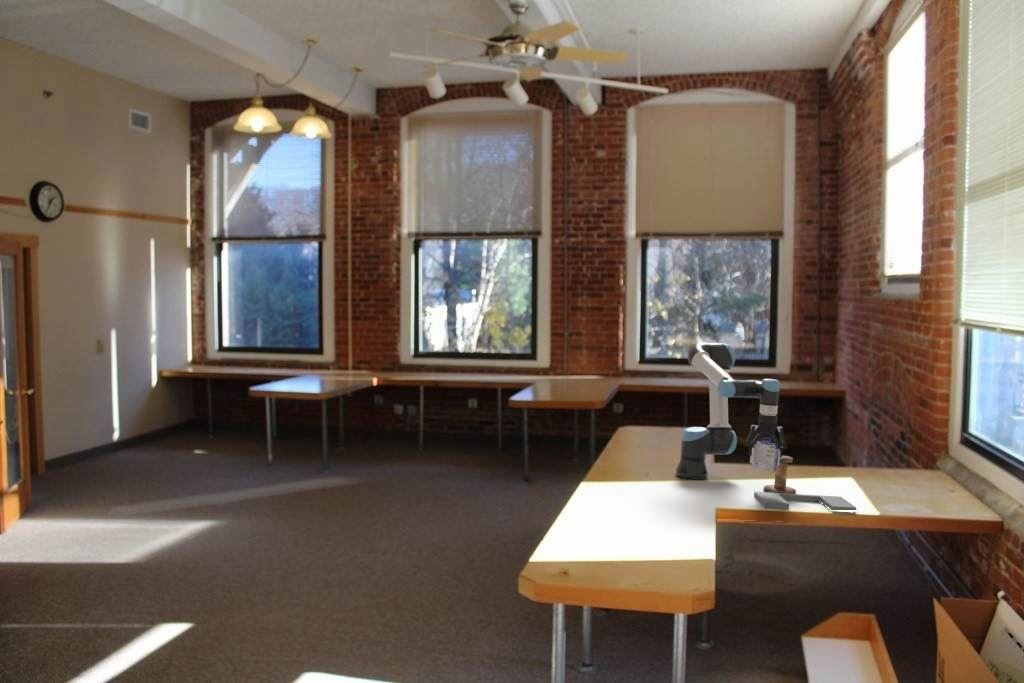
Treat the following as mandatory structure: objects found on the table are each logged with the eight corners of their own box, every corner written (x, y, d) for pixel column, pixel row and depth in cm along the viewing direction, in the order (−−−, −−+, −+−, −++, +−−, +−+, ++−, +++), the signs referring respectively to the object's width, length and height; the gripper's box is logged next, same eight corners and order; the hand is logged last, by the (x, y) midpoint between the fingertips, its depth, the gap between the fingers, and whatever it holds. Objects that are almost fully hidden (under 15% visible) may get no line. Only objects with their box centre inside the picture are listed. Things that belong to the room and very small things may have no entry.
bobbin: (768, 494, 390) (771, 459, 389) (760, 487, 404) (762, 453, 403) (799, 496, 390) (802, 461, 389) (790, 489, 404) (793, 455, 403)
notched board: (765, 508, 366) (765, 502, 366) (753, 497, 384) (754, 491, 384) (855, 513, 366) (856, 507, 365) (840, 502, 384) (840, 496, 383)
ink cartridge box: (776, 471, 384) (779, 438, 383) (773, 473, 379) (776, 440, 378) (754, 467, 389) (756, 435, 388) (751, 469, 384) (753, 437, 383)
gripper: (743, 414, 379) (739, 463, 380) (797, 417, 378) (793, 467, 380) (739, 411, 386) (736, 460, 388) (792, 414, 386) (788, 463, 387)
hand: (764, 463), depth 384 cm, fingers closed on ink cartridge box, 11 cm apart
